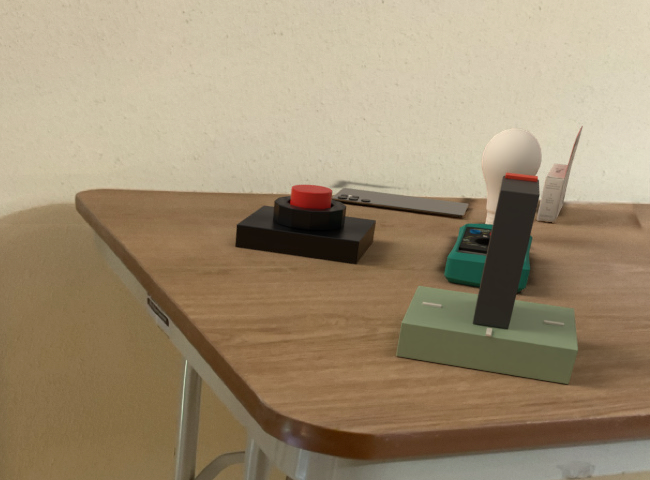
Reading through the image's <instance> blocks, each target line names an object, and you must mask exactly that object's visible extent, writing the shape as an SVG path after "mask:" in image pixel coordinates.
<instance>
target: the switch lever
mask: <svg viewBox="0 0 650 480" xmlns="http://www.w3.org/2000/svg"><path fill="white" fill-rule="evenodd" d="M540 195H541V194H540V179H539V176H538V175H536V176H532V175H523V174H515V173H506V175H505V176H503V179H502V184H501V188H500V193H499V198H498V203H497V207H496V212H495V217H494V222H493V226H492V231H491V236H490V241H489V245H488V250H487V255H486V260H485V264H484V269H483V274H482V279H481V283H480V287H478V288H479V289H478V293H477V294H478V297H477V303H476V308H475V313H474V318H473V324H478V325H485V326H491V327H498V328H505V329H508V328H509V324H510V320H511V316H512V312H513V307H514V303H515V300H517V294H518V292H517V290H518V286H519V282H520V277H521V273H522V269H523V265H524V260H525V256H526V252H527V248H528V243H529V239H530V235H531V236H532V231H533V226H534V221H535V217H536V213H537V208H538V206H539V205H538V204H539V200H540Z"/></svg>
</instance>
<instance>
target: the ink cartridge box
mask: <svg viewBox="0 0 650 480" xmlns="http://www.w3.org/2000/svg"><path fill="white" fill-rule="evenodd" d="M583 128H584V126H583V125H581V126H580V128H579V131H578V133H577V135H576V138H575V140H574V143H573V146H572V149H571V152H570V156H569V160H568V163H567V164H563V163H553V164H552V166H551V167H550V169H549V171H548V172H547V174H546V175H545V178H544V183H543V188H542V191H541V197H540V202H539V205H538V211H537V216H536V221H537V222H541V221H545V222H544V223H548V222H552V223H551V224H556V222H557V219H558V216H559V215H560V212H561V211H562V208H563V207H564V201H565V197H566V194H567V193H566V192H567V189H568V188H567V187H568V183H569V178H570V174H571V170H572V166H573V162H574V159H575V156H576V152H577V149H578V145H579V143H580V139H581V135H582V132H583Z"/></svg>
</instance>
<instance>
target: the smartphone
mask: <svg viewBox="0 0 650 480" xmlns="http://www.w3.org/2000/svg"><path fill="white" fill-rule="evenodd" d="M332 200H335V201H339V202H341V203H347V204H355V205H362V206H370V207H377V208H384V209H385V208H386V209H392V210H398V211H399V210H400V211H407V212H415V213H423V214H429V215H430V214H431V215H439V216H446V217H452V218H460V219H462V218H464V217H465V215H466V212H467V211H468V208H469V203H466V202H460V201H450V200H442V199H437V198H436V199H435V198H429V197H428V198H427V197H419V196H413V195H404V194H396V193H388V192H381V191H373V190H364V189H358V188H349V187H343V188H341V189H340V190H339V191H338V192H337V193H335V194H334V195H332Z"/></svg>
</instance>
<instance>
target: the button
mask: <svg viewBox="0 0 650 480" xmlns="http://www.w3.org/2000/svg"><path fill="white" fill-rule="evenodd" d="M290 196H291V200H290V204H291V205H294V206H298V207H304V208H312V209H325V208H331V200H332V197H333V189H332V188H329V187H326V186H323V185H318V184H317V185H316V184H295V185H293V186H291V189H290Z"/></svg>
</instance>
